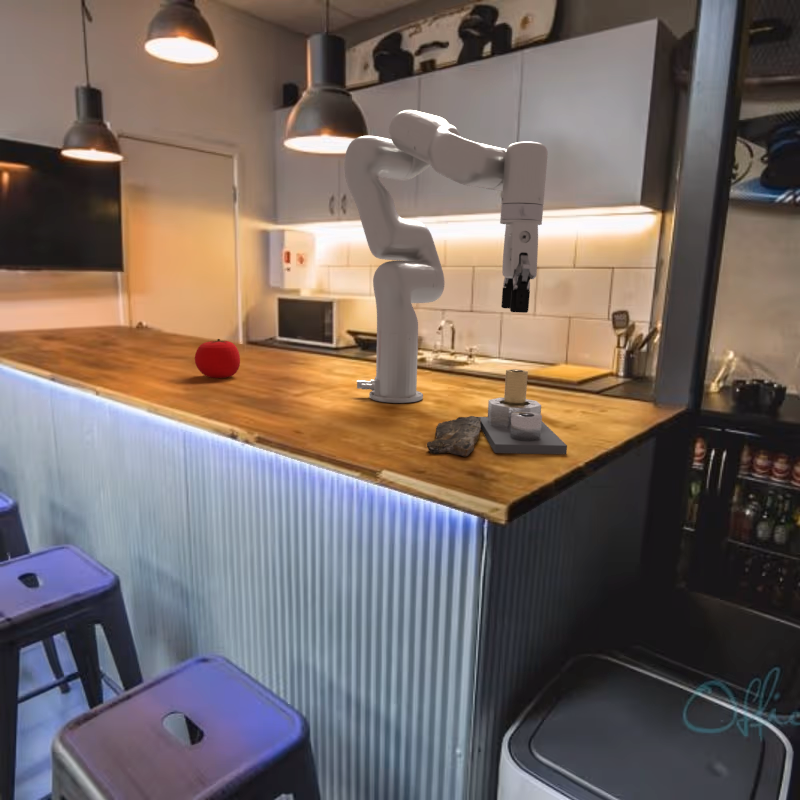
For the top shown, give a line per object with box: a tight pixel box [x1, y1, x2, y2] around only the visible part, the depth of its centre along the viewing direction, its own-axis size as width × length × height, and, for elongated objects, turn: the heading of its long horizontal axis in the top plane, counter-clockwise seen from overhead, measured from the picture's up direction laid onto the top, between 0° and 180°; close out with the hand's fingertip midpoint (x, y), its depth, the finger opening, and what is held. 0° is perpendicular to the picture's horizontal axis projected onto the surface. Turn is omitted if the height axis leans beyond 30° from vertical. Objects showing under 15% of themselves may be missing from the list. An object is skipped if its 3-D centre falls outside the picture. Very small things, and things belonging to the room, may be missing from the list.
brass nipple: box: [503, 368, 528, 406], centre depth 116 cm, size 4×4×10 cm
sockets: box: [487, 397, 543, 441], centre depth 113 cm, size 9×18×4 cm, turn 1°
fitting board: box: [478, 416, 568, 455], centre depth 113 cm, size 12×20×2 cm, turn 1°
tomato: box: [194, 338, 241, 379], centre depth 167 cm, size 12×12×10 cm
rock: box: [426, 415, 481, 458], centre depth 110 cm, size 21×8×3 cm, turn 169°
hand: (514, 310), depth 116 cm, fingers open, 9 cm apart
